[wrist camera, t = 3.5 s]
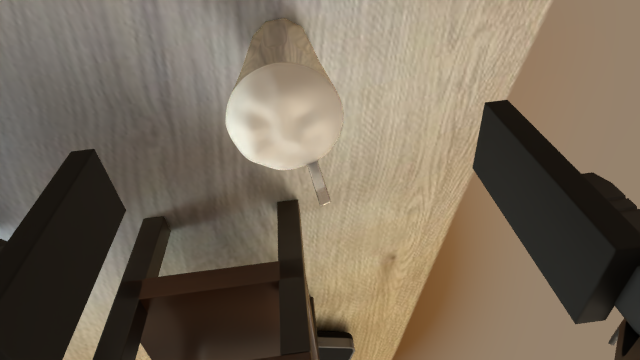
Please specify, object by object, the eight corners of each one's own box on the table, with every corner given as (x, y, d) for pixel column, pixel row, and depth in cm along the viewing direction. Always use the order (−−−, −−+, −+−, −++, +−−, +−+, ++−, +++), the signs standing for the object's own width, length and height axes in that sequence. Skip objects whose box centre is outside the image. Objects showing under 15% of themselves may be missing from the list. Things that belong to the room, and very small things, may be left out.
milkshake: (273, 110, 24) (275, 226, 16) (222, 30, 21) (193, 126, 13) (341, 76, 23) (378, 181, 16) (298, -13, 20) (316, 63, 12)
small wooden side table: (314, 306, 37) (331, 475, 26) (193, 322, 36) (163, 500, 26) (297, 198, 29) (313, 381, 18) (143, 218, 28) (71, 415, 18)
